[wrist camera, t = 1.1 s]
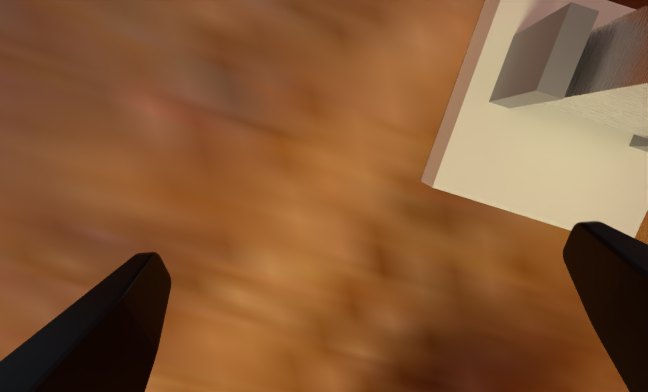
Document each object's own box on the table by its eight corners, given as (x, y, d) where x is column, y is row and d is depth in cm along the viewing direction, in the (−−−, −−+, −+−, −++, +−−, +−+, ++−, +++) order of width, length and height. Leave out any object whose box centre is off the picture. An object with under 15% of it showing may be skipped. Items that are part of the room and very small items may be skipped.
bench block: (592, 235, 20) (715, 281, 13) (420, 181, 20) (460, 201, 13) (675, 52, 18) (859, 6, 12) (487, -8, 18) (570, -88, 12)
